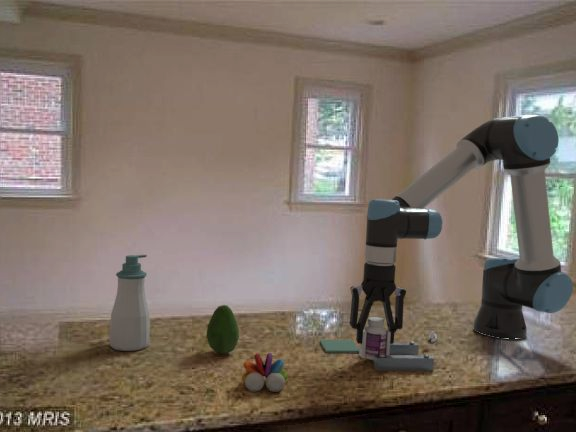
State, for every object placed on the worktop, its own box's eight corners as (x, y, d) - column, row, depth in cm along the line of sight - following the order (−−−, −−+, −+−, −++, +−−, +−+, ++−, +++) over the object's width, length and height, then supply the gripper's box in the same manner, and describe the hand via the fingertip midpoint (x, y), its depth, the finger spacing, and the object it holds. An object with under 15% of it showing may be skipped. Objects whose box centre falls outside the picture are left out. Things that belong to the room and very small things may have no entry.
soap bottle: (157, 347, 140) (160, 257, 138) (122, 355, 133) (124, 260, 131) (136, 337, 147) (138, 252, 145) (101, 344, 140) (103, 255, 138)
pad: (352, 342, 152) (352, 340, 152) (360, 353, 143) (360, 350, 143) (319, 341, 151) (319, 339, 151) (326, 352, 142) (326, 350, 142)
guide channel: (415, 353, 145) (416, 340, 144) (433, 370, 133) (434, 356, 132) (362, 353, 143) (363, 340, 142) (376, 370, 131) (377, 356, 131)
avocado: (224, 345, 144) (226, 300, 143) (244, 354, 138) (246, 306, 137) (199, 351, 138) (200, 304, 137) (218, 360, 132) (220, 311, 131)
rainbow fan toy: (241, 378, 122) (243, 346, 122) (285, 379, 123) (287, 347, 122) (241, 394, 114) (242, 359, 113) (288, 395, 114) (290, 360, 114)
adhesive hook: (426, 341, 158) (427, 330, 158) (434, 340, 159) (434, 329, 159) (433, 344, 155) (434, 333, 155) (441, 343, 156) (441, 332, 156)
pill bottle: (384, 362, 134) (387, 322, 133) (362, 359, 135) (364, 320, 134) (385, 355, 139) (387, 317, 138) (363, 352, 140) (366, 315, 139)
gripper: (410, 261, 140) (404, 351, 142) (339, 259, 137) (334, 351, 139) (421, 266, 132) (415, 361, 134) (346, 264, 130) (340, 361, 132)
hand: (374, 356), depth 137 cm, fingers closed on pill bottle, 5 cm apart
